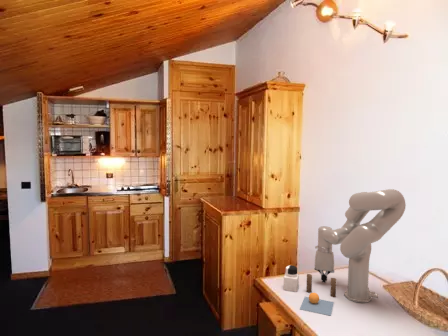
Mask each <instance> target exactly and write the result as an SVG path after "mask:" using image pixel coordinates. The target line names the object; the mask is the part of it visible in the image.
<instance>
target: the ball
mask: <svg viewBox="0 0 448 336" xmlns="http://www.w3.org/2000/svg"><path fill="white" fill-rule="evenodd" d="M308 297H309V301H310V302H311V303H313V304H316V303H318V301H319V299H320V296H319V294H318V293H317V292H311V293H309V295H308Z"/></svg>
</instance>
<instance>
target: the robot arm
mask: <svg viewBox="0 0 448 336" xmlns="http://www.w3.org/2000/svg"><path fill="white" fill-rule="evenodd" d="M348 200H349V201H348V205H349V207H348V208H347V210H346V211H345V213H344V216H345V218H346V221H345V223H344V224H343V225H342V226H341V227H340V228H337V229H332V227H330V226H319V227H318V230H317V231H318V232H317V245H315V246H314V248H315V249H316V251H315V256H314V269H313V270H314V271H317V272H318V273H319V274H320V280H321V283H326V282H327V281H328V276H329V275H330V274H334V273H335V255H334V252H333V245H336V246H338V245H339V250H340V252H341V254H342V256H344V257H345V258H347V259H348V268H347V269H348V270H347V271H348V272H347V289H346V290H345V291H344V295H343V296H344V297H345V298H346V299H348V300H349V301H351V302H356V303H360V304H361V303H362V304H363V303H364V304H365V303H368V302H370V301H372V298H375V299H378V298H379V294H378V293H376V292H375V291H372V290H370V289H369V278H370V277H369V274H370V273H369V272H370V258H371V254H372V253H371V252H372V244H373V243H376V242H378V241H379V240H382V238H383V237H384V235H385V234H387V233H388V232H389V231H390V230H391V229H392V227H393V226H394V225H395V224H397V223H398V222H399V221H400V220H401V218H402V217H403V215H404V213H405V210H406V206H407V205H406V204H407V203H406V199H405V197H404V195H403V193H402V192H400V191H399V190H397V189H393V188H392V189H391V188H389V189H383V190H378V191H370V192H367V191H362V192H355V193H354V194H352V195H351V196H350V197H349V199H348ZM370 211H379V212H377V213H376V214H375V216H374V217H373V218H371V220H369V221H368V222H365V223H362V224H361V222H362V221H363V220H364V218H365V217H366V216H367V215H368V213H369V212H370ZM324 272H325V273H324Z"/></svg>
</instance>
